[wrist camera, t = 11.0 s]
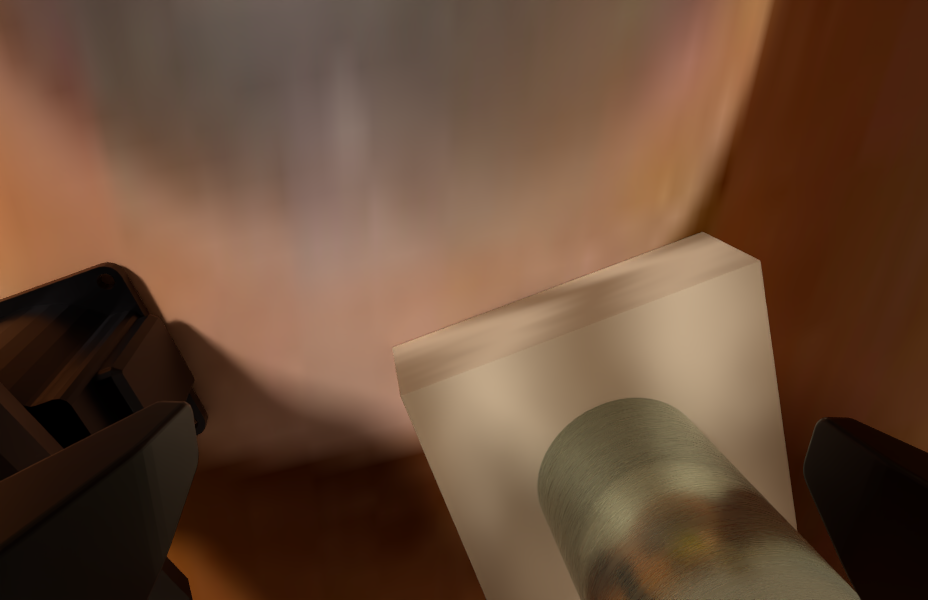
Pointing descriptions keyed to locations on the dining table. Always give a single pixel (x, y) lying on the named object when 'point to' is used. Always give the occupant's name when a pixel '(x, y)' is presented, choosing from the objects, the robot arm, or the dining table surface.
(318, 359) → the dining table surface
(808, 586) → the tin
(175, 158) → the dining table surface
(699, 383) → the base block
